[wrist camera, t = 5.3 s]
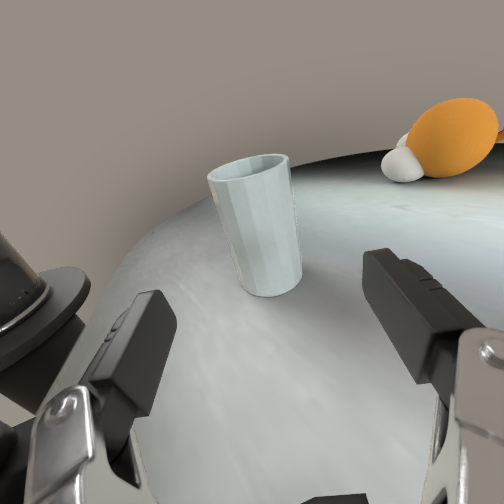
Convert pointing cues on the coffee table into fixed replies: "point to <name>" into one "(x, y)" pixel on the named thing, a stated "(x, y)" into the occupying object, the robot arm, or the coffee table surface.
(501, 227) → the coffee table surface
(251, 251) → the plastic cup
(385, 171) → the toy
